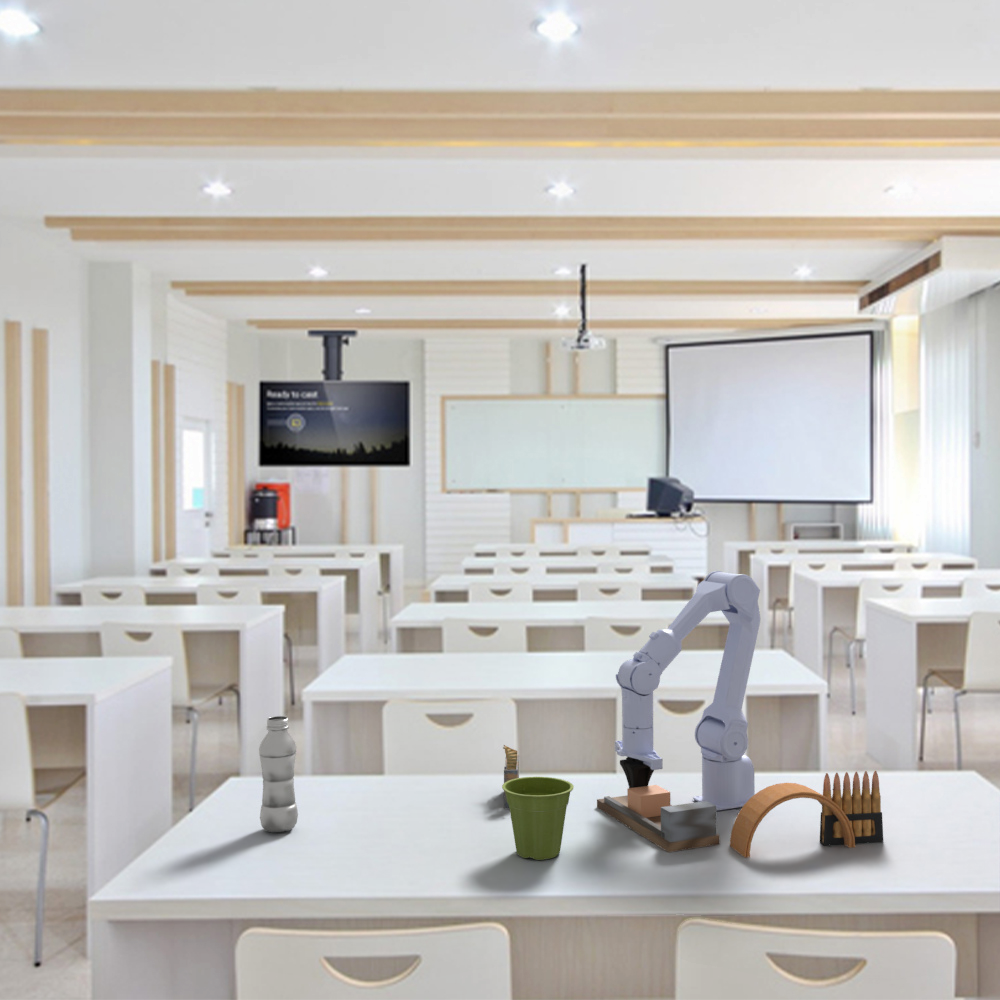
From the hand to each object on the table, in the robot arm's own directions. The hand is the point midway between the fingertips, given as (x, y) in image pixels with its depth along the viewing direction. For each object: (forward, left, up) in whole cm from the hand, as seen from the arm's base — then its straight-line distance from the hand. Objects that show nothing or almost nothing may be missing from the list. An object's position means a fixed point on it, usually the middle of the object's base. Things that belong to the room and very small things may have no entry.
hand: (638, 799), depth 189 cm
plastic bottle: (+63, -17, -3) cm, 65 cm away
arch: (-16, +25, -3) cm, 29 cm away
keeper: (0, +4, -1) cm, 4 cm away
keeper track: (0, +6, -3) cm, 7 cm away
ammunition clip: (-26, +27, -3) cm, 38 cm away
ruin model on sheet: (+18, -18, -4) cm, 26 cm away
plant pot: (+25, +11, -3) cm, 28 cm away
